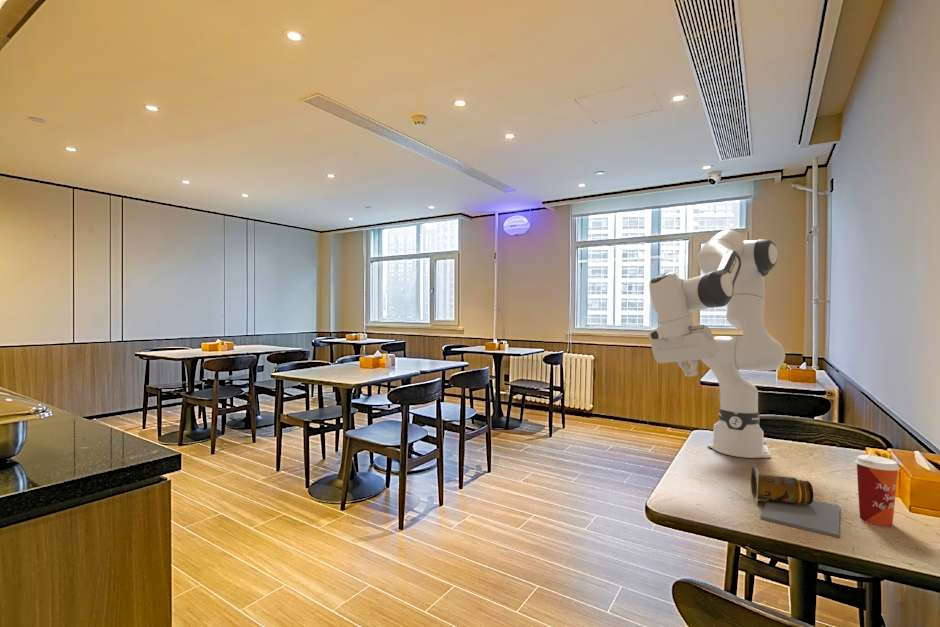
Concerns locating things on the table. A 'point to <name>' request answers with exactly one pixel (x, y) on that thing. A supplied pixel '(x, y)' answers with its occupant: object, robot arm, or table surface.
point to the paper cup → (876, 489)
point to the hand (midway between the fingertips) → (691, 375)
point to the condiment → (780, 488)
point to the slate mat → (805, 516)
